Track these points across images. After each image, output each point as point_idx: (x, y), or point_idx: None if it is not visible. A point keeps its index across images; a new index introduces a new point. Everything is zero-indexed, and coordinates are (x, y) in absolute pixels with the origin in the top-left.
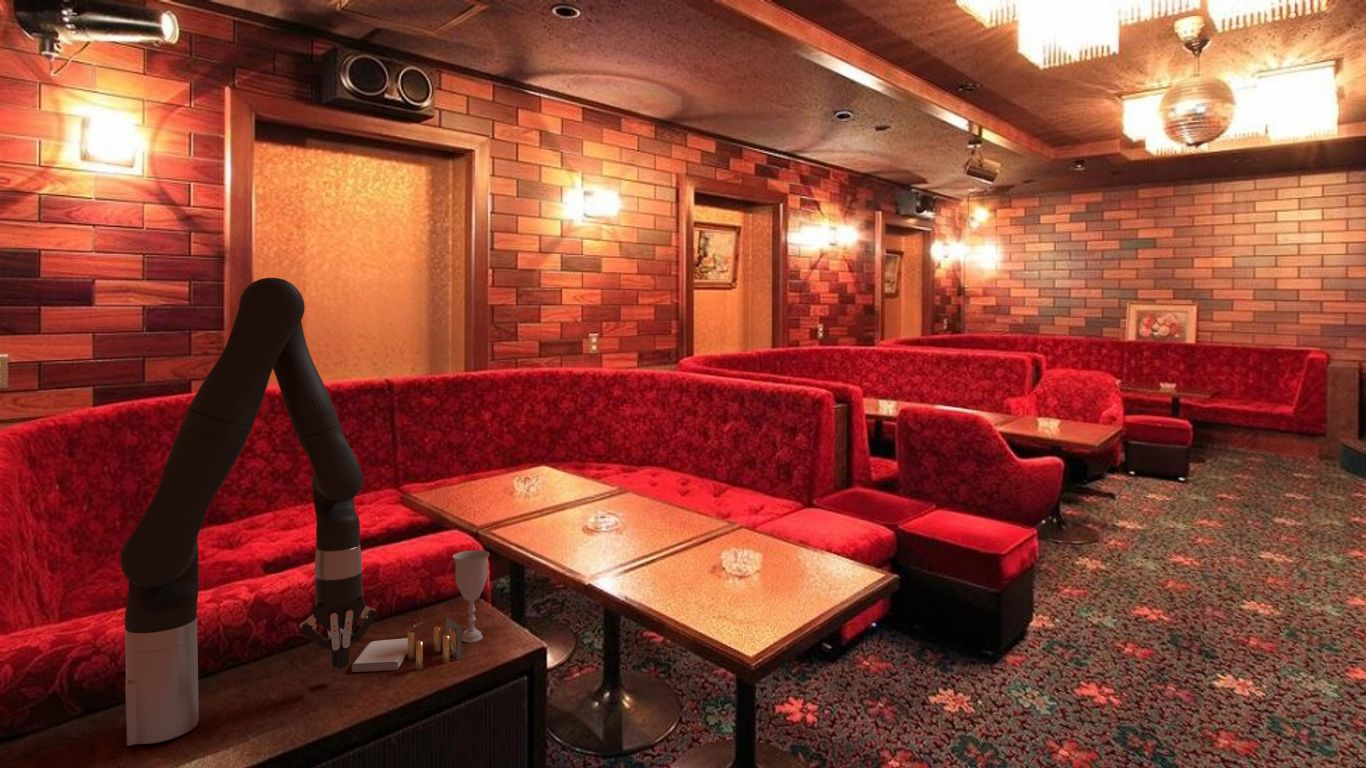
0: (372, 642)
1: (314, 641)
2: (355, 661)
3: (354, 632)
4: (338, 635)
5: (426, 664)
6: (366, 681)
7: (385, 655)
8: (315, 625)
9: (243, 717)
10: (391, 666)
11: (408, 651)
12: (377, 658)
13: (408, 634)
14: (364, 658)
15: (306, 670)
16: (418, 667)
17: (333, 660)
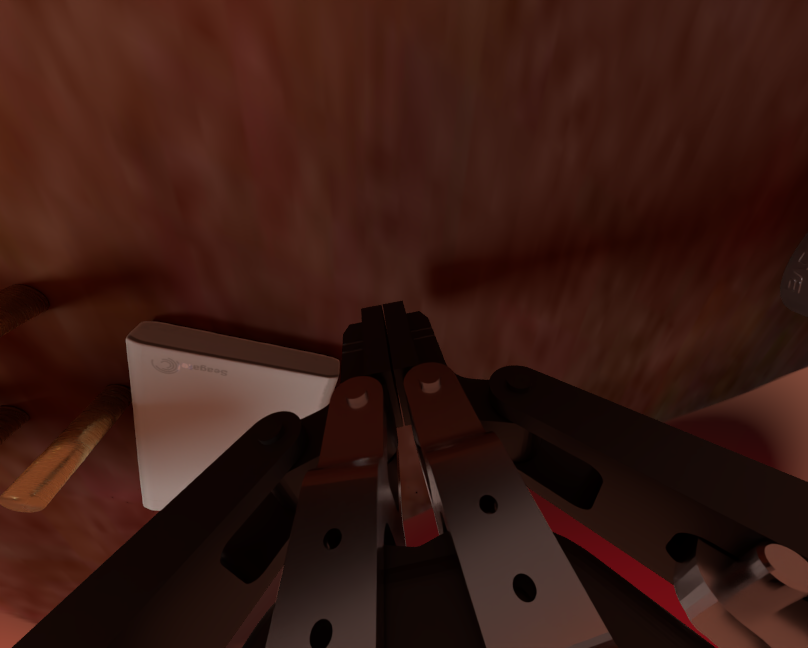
0: None
1: (629, 411)
2: (326, 395)
3: (296, 505)
4: (434, 453)
5: None
6: (273, 257)
7: (209, 410)
8: (739, 608)
9: (754, 114)
10: (169, 334)
11: (104, 416)
12: (238, 394)
13: (34, 495)
14: (293, 407)
15: None
16: (15, 291)
17: (424, 333)
